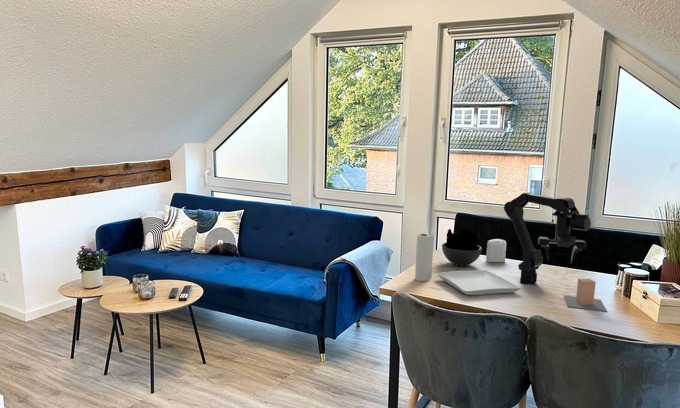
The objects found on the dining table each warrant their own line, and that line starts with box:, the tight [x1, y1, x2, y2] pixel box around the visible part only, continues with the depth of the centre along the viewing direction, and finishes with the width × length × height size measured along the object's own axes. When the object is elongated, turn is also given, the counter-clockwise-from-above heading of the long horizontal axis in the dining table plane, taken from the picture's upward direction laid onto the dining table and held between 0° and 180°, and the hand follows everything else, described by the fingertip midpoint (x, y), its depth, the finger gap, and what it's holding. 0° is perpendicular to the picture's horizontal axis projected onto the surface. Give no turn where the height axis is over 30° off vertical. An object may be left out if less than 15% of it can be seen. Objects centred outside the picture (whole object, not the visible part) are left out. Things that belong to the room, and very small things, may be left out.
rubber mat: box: [563, 294, 608, 313], centre depth 197 cm, size 14×14×1 cm
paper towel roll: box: [414, 233, 435, 282], centre depth 222 cm, size 7×6×21 cm
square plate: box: [435, 269, 522, 296], centre depth 216 cm, size 27×27×4 cm
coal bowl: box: [441, 228, 483, 267], centre depth 250 cm, size 20×20×19 cm
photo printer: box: [485, 238, 507, 263], centre depth 259 cm, size 10×4×12 cm, turn 98°
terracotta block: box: [575, 278, 597, 305], centre depth 196 cm, size 5×4×10 cm
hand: (559, 262), depth 211 cm, fingers open, 9 cm apart
